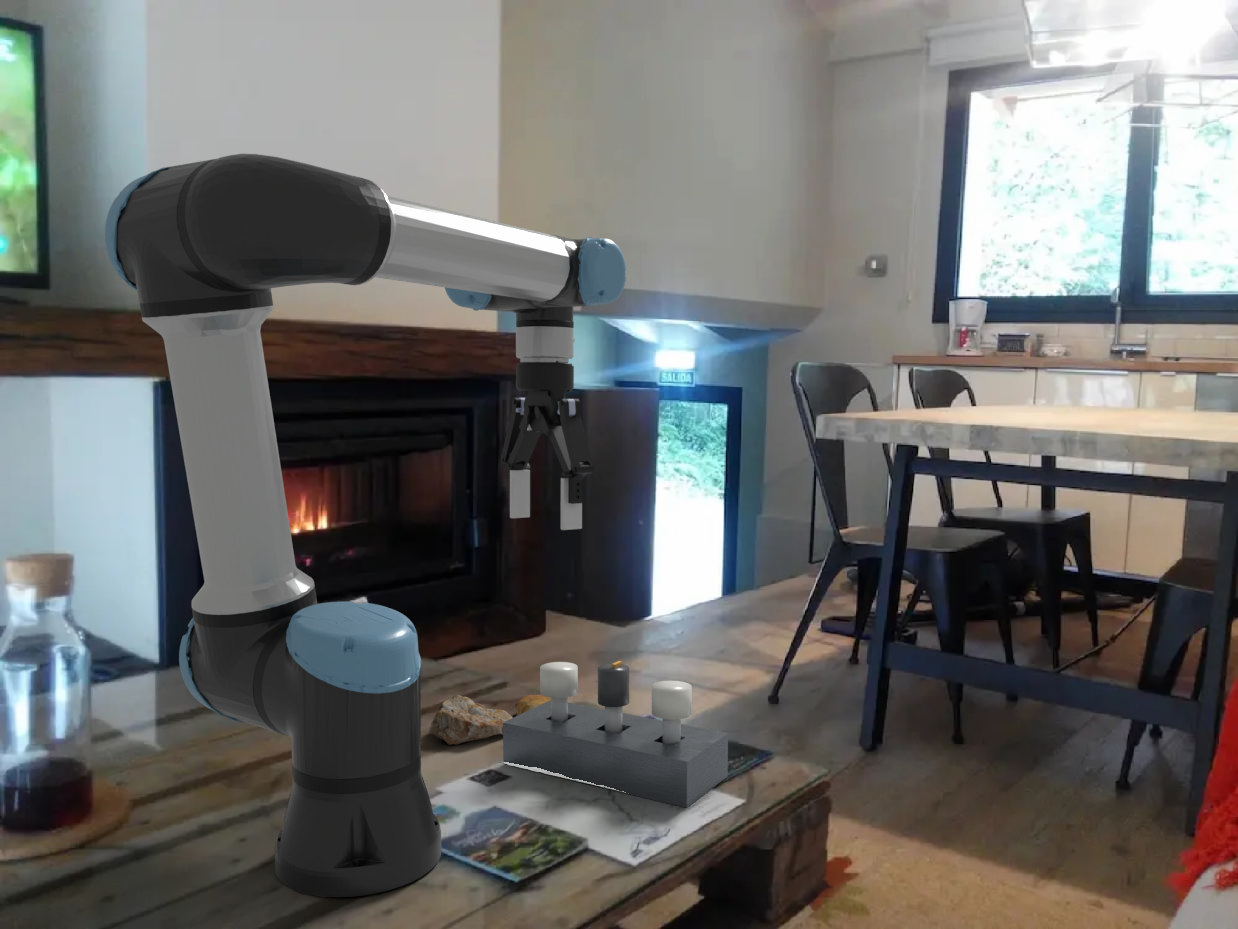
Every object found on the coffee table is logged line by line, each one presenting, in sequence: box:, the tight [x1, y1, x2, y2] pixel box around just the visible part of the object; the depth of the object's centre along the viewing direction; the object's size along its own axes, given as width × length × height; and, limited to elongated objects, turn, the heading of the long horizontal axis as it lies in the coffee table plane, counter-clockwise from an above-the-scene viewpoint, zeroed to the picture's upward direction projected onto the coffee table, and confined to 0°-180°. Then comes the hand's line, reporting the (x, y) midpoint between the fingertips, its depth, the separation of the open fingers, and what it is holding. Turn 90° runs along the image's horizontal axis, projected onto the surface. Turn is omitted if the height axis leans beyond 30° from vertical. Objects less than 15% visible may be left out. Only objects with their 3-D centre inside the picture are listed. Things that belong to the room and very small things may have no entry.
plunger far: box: [539, 661, 579, 723], centre depth 124 cm, size 4×4×8 cm
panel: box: [502, 700, 729, 809], centre depth 120 cm, size 24×10×5 cm, turn 59°
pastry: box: [516, 694, 551, 716], centre depth 138 cm, size 9×7×4 cm
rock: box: [428, 694, 514, 746], centre depth 133 cm, size 9×6×10 cm
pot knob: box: [597, 660, 630, 734], centre depth 120 cm, size 4×4×9 cm
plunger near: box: [651, 680, 693, 745], centre depth 116 cm, size 4×4×8 cm
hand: (544, 523), depth 139 cm, fingers open, 13 cm apart
